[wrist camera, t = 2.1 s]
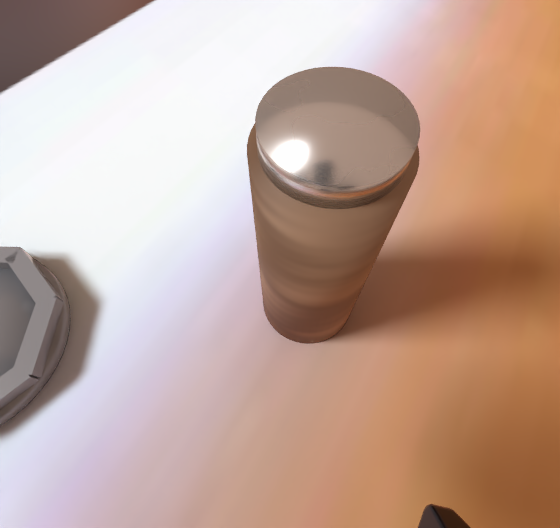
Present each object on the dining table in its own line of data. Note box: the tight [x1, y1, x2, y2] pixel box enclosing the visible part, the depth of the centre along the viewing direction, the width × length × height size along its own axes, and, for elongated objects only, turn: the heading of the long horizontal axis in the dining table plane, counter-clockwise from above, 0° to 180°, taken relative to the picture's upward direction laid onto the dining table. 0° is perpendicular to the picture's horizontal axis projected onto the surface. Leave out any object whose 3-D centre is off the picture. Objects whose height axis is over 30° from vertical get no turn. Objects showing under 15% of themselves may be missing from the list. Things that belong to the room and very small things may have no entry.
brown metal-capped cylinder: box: [247, 67, 420, 343], centre depth 16 cm, size 5×5×13 cm
